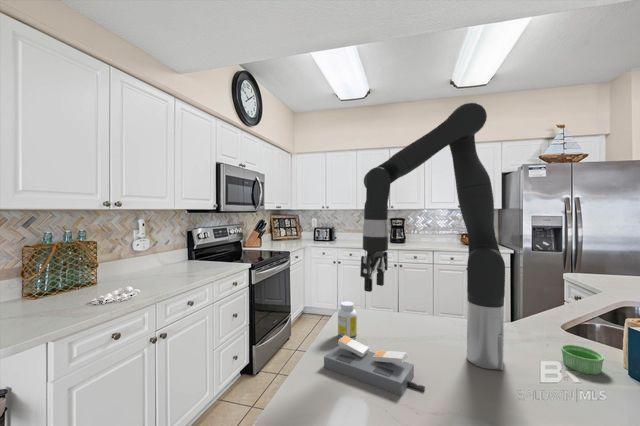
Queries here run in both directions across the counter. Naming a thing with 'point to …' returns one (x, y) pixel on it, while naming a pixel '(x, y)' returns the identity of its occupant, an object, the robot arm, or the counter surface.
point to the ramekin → (582, 359)
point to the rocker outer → (353, 346)
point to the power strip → (372, 370)
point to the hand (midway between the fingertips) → (374, 288)
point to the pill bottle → (347, 320)
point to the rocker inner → (390, 356)
